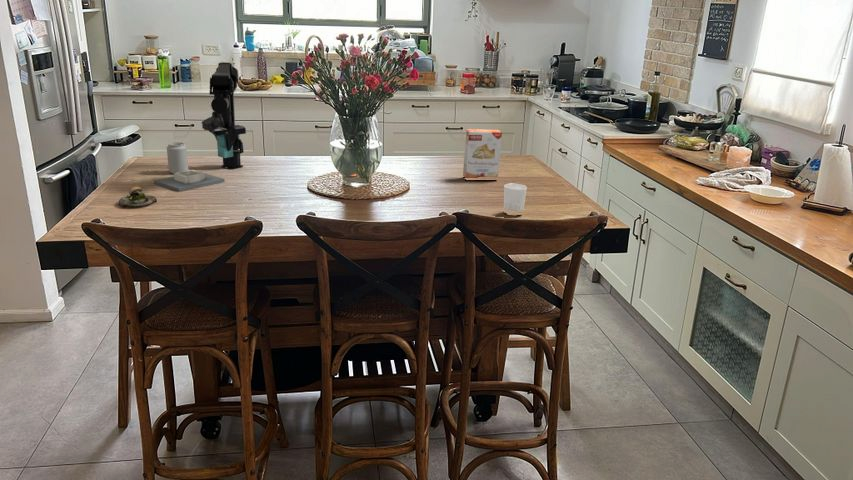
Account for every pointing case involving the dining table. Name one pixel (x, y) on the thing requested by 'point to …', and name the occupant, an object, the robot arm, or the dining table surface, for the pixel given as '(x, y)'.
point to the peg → (223, 147)
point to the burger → (136, 198)
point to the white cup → (514, 196)
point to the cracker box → (482, 153)
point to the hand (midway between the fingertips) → (225, 149)
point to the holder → (188, 180)
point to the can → (177, 157)
